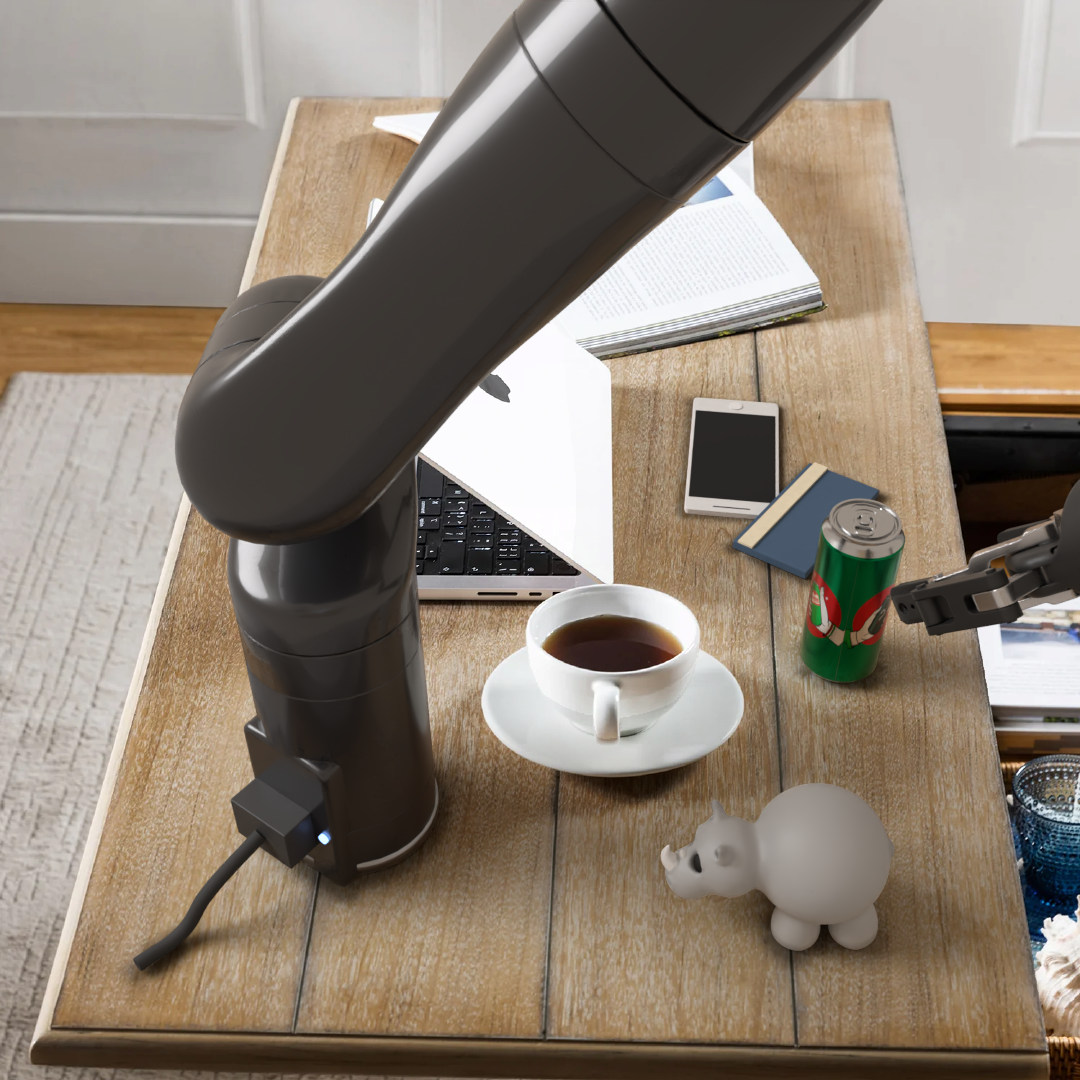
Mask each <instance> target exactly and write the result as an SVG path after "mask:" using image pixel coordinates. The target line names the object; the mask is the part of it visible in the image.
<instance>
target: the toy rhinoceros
mask: <svg viewBox="0 0 1080 1080" xmlns="http://www.w3.org/2000/svg"><path fill="white" fill-rule="evenodd" d="M710 805H711V811H712V813H711V814H712V815H710V816H709V818H708V819H706V820H705V822H703V823H701V824H699V825H698V826H697V828H696V831H695V836H694V838H693V841H692V842H690V843H688V844H687V845H685V846H683V847H680V848H679V849H677V850H676V851H674V852H673V851H671V845H670V844H667V845H666V846H664V847H663V849H662V850H661V852H660V862H661V864H662V865H663V867H664V876H665V880H666V883H667V885H668V887H669V888H670V890H671V891H672V893H674V894H675V895H676V896H677V897H679V898H681V899H683V900H688V901H697V900H700V899H701V900H702V899H703V898H705V897H707V896H711V895H714V896H720V897H723V898H739V897H742V896H745V895H746V894H748V893H749V892H751V891H753V890H758V891H760V892H761V893H762V894H764V895H765V897H766V898H767V899H768V900H769V901H770V903H772V904H773V905H774V906H775V907H774V909H773V911H772V915H771V919H770V932H771V934H772V935H771V936H772V937H773V938H774V940H775V941H776V942H777V943H778V944H780V945H781V946H782V947H784V948H786V949H788V950H791V951H793V952H794V951H795V952H801V951H805V950H808V949H810V948H811V947H812V946H813V945H814V944H815V943H816V942H817V940H818V939H819V936H820V932H821V925H827V929H828V932H829V934H830V936H831V938H832V939H833V940H834V942H836V943H837V944H838V945H839V946H842V947H843V948H846V949H849V950H853V951H856V950H861V949H864V948H866V947H868V946H869V945H871V944H872V943H873V942H874V940H875V939H876V937H877V934H878V931H879V919H878V918H879V917H878V913H877V910H876V907H875V904H874V903H875V902H876V901H877V900H878V898H879V897H880V895H881V894H882V892H883V890H884V889H885V886H886V885H887V881H888V878H889V875H890V871H891V864H892V860H893V857H894V855H895V851H896V847H895V844H894V843H893V841H892V840H891V838H890V837H889V835H888V833H887V830H886V827H885V825H884V824H883V822H882V820H881V818H880V816H879V815H878V814H877V812H876V811H875V809H873V808H872V806H871V805H870V804H869V803H868V802H867V801H865V799H864V798H862V797H860V796H859V795H858V794H856V793H855V792H852V791H851V790H849V789H847V788H845V787H842V786H838V785H835V784H831V783H825V782H810V783H808V782H807V783H803V784H798V785H795V786H792V787H790V788H788V789H786V790H784V791H782V792H780V793H778V795H776V796H775V797H774V798H772V799H771V800H770V801H769V802H768V803H767V804H766V805H765V807H764V808H763V810H762V811H761V813H760V814H759V816H758V818H757V819H756V821H755V822H750V821H749V820H748V821H747V820H746V819H744V818H742V817H739V816H735V815H730V814H728V813H727V812H726V810H725V807H724V806H723V804H722V803H721V802H720V801H719V800H718V799H715V798H714V799H712V801H711V803H710Z"/></svg>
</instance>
